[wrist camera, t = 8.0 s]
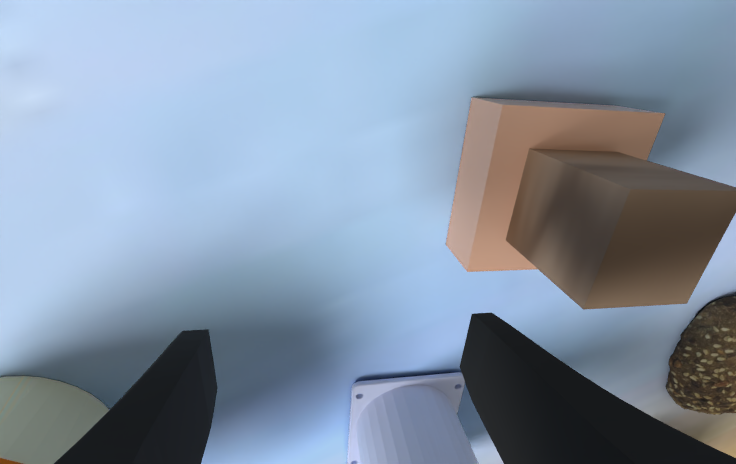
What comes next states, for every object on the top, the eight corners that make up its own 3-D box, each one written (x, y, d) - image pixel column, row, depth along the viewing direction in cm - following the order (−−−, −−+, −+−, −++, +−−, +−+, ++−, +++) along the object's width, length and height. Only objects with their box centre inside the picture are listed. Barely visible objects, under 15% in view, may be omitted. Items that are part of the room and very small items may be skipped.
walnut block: (585, 238, 19) (686, 303, 14) (505, 240, 18) (583, 309, 13) (616, 151, 17) (747, 190, 12) (529, 148, 16) (630, 189, 11)
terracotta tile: (568, 241, 22) (604, 266, 20) (445, 244, 21) (467, 271, 18) (614, 105, 19) (665, 113, 16) (471, 97, 18) (502, 104, 15)
